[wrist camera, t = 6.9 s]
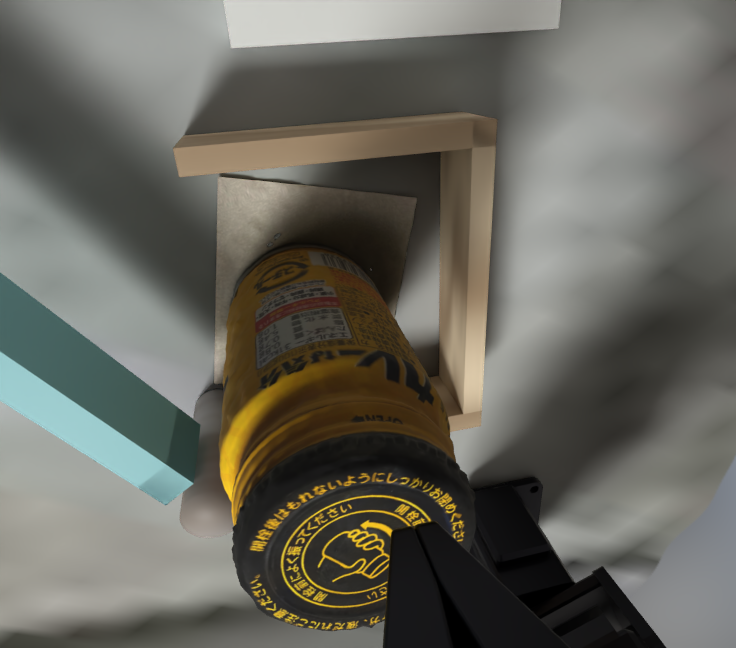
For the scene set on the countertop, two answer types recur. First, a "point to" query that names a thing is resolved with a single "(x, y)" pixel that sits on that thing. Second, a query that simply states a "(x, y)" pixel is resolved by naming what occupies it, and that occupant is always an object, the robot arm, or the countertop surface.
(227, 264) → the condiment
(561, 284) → the countertop surface
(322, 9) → the mat
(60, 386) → the bar
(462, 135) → the holder
